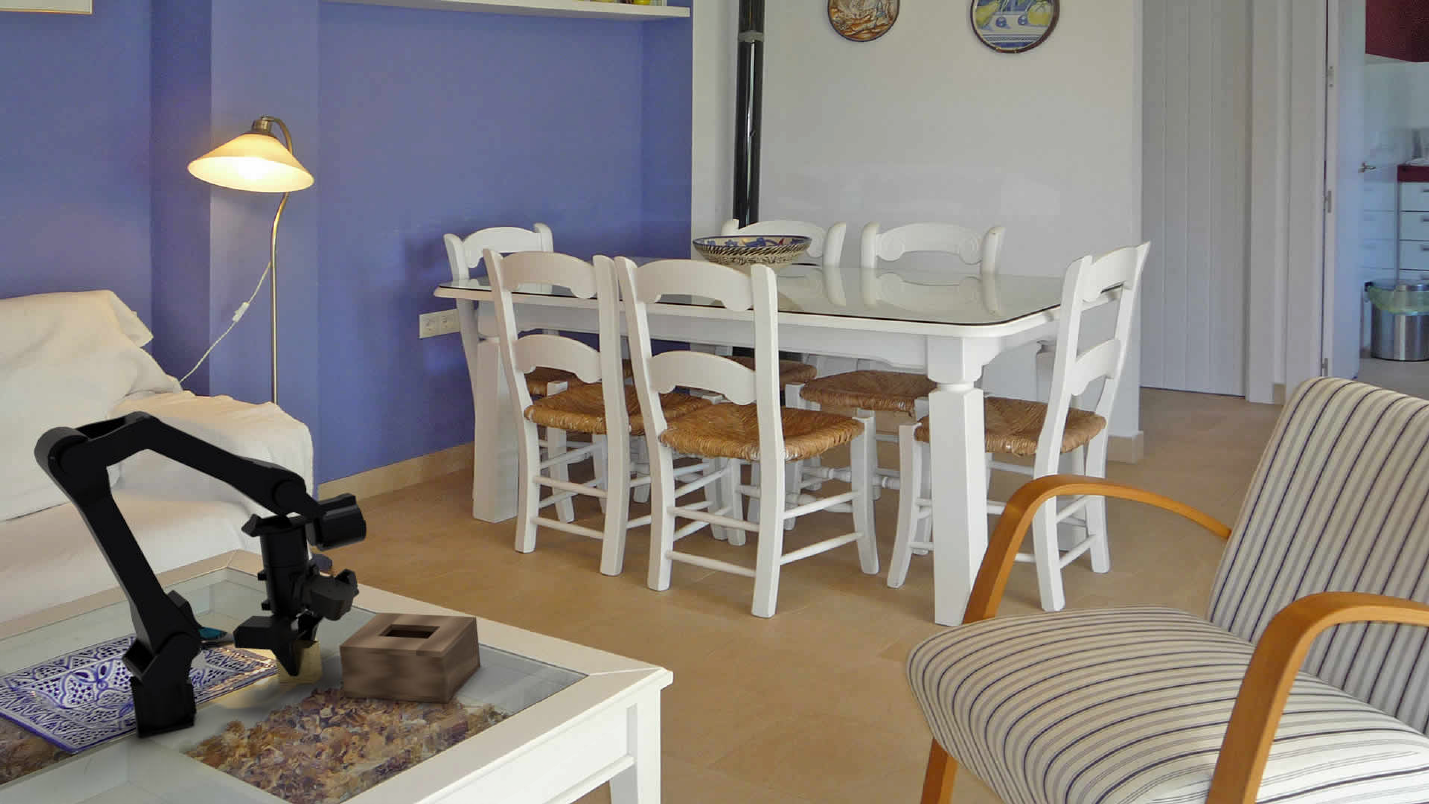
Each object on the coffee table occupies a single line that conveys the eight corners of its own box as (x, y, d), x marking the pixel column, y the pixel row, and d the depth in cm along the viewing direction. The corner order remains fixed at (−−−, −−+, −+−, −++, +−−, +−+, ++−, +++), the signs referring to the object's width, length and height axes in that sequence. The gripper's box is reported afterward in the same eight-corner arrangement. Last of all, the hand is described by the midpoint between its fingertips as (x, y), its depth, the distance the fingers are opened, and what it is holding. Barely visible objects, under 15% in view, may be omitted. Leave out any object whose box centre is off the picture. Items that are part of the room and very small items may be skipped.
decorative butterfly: (170, 613, 182) (229, 599, 179) (186, 654, 183) (245, 640, 180) (126, 642, 172) (188, 627, 170) (143, 684, 173) (205, 671, 171)
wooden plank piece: (278, 681, 166) (274, 646, 165) (288, 673, 168) (284, 638, 167) (313, 683, 165) (308, 648, 164) (322, 675, 167) (318, 640, 166)
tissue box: (345, 696, 161) (339, 646, 159) (384, 660, 171) (379, 612, 170) (446, 703, 158) (441, 651, 156) (480, 665, 168) (476, 617, 167)
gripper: (305, 589, 152) (319, 707, 156) (376, 538, 170) (387, 645, 174) (223, 585, 155) (239, 702, 158) (301, 536, 172) (314, 641, 176)
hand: (299, 671), depth 166 cm, fingers closed on wooden plank piece, 2 cm apart
